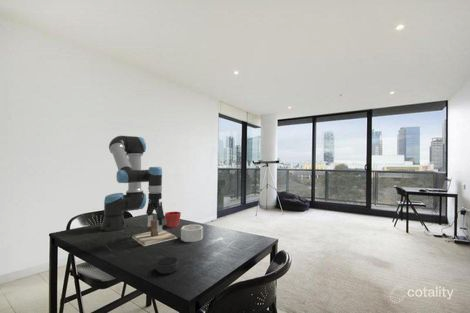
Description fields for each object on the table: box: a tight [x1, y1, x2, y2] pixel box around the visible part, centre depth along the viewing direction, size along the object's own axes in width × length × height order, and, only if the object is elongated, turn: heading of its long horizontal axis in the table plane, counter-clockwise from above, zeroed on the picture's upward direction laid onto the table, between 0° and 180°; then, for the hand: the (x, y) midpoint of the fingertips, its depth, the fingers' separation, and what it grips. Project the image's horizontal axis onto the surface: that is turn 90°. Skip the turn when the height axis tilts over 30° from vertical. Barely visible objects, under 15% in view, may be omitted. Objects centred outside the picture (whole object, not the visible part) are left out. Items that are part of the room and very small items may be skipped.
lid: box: [133, 219, 177, 246], centre depth 135 cm, size 18×18×10 cm
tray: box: [131, 236, 178, 247], centre depth 135 cm, size 20×20×1 cm
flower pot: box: [164, 211, 182, 228], centre depth 160 cm, size 11×11×10 cm
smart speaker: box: [156, 256, 179, 275], centre depth 96 cm, size 9×9×4 cm
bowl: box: [180, 224, 204, 243], centre depth 134 cm, size 12×12×7 cm
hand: (154, 228), depth 135 cm, fingers open, 13 cm apart
